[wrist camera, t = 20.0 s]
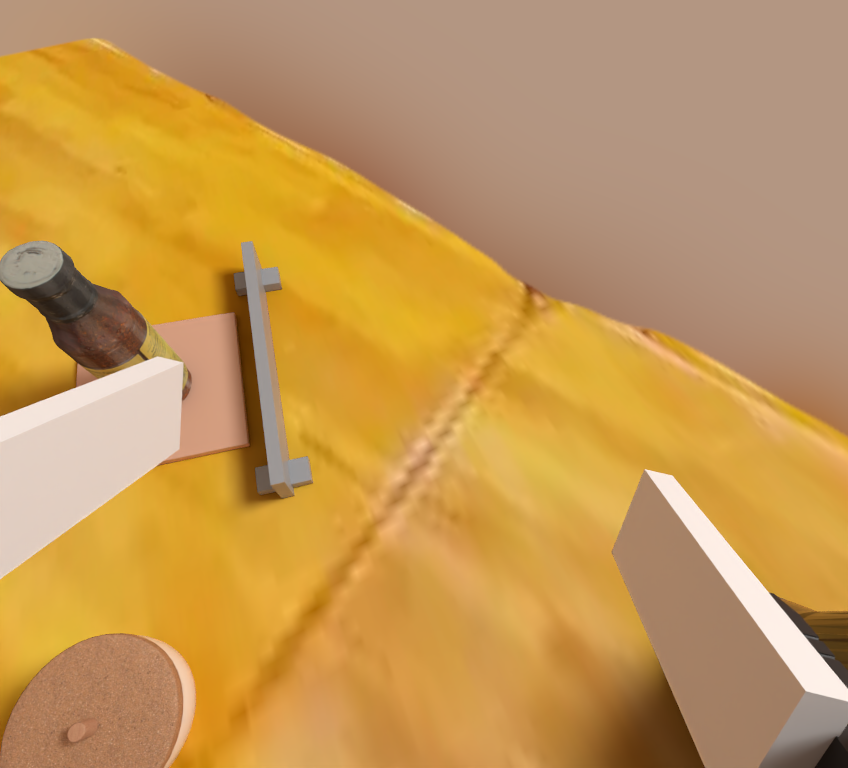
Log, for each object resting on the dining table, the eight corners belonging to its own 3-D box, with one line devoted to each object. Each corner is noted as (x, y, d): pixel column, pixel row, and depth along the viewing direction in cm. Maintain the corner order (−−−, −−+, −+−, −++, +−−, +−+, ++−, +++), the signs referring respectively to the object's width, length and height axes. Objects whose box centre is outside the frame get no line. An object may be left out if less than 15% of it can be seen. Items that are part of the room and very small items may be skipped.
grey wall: (278, 268, 58) (269, 238, 53) (314, 490, 46) (306, 477, 42) (236, 274, 57) (223, 245, 52) (261, 503, 45) (247, 490, 41)
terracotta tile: (236, 316, 54) (233, 312, 54) (249, 445, 48) (247, 443, 47) (83, 341, 52) (79, 337, 51) (75, 482, 45) (70, 480, 44)
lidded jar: (57, 807, 35) (-47, 866, 26) (84, 641, 39) (3, 647, 31) (210, 780, 36) (157, 828, 28) (219, 622, 41) (176, 623, 32)
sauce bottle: (162, 351, 51) (41, 207, 33) (208, 379, 50) (109, 245, 32) (114, 399, 48) (-45, 269, 30) (162, 429, 47) (26, 313, 29)
